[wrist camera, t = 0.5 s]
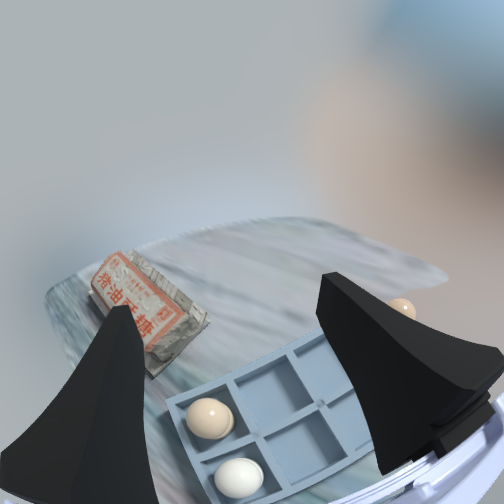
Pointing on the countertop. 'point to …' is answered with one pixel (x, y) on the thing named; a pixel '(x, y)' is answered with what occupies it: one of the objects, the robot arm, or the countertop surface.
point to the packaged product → (149, 306)
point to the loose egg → (403, 307)
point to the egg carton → (280, 420)
